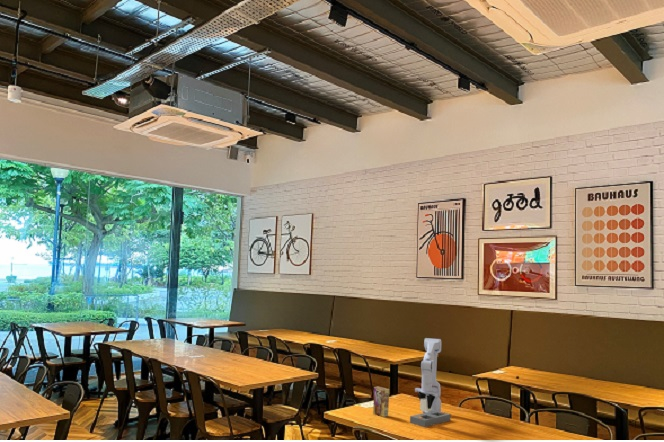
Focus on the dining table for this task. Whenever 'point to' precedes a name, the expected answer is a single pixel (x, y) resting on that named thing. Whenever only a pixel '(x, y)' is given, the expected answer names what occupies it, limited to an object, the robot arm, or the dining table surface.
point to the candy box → (381, 401)
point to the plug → (424, 405)
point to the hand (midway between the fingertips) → (426, 407)
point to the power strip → (430, 418)
